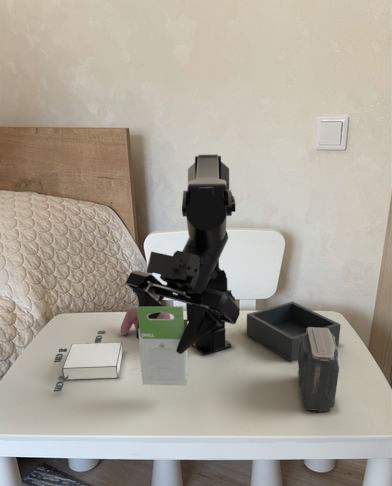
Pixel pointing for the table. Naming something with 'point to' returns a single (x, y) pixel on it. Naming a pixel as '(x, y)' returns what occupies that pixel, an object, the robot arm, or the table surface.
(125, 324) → the video game controller
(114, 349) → the container
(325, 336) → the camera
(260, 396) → the table surface
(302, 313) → the bin
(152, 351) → the ink box
